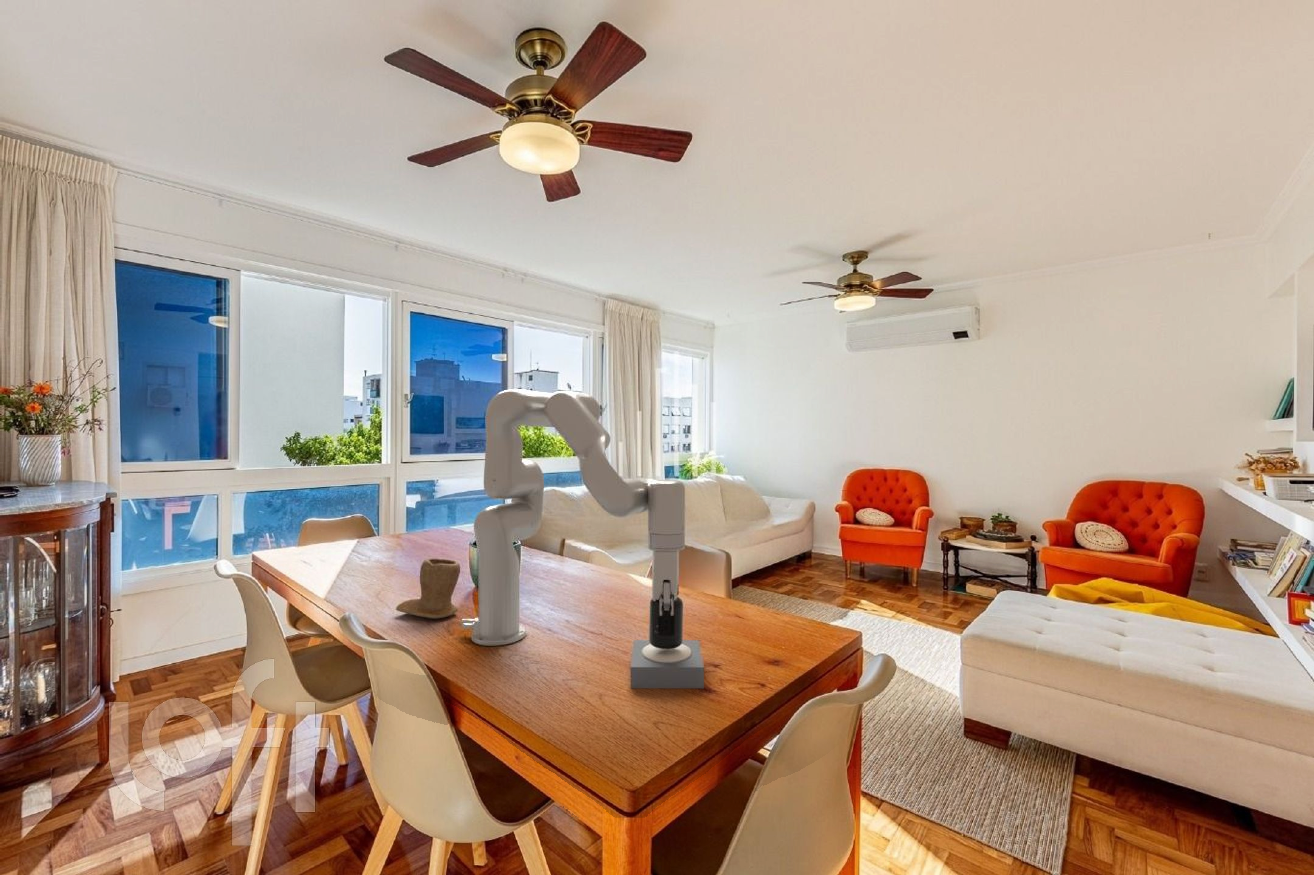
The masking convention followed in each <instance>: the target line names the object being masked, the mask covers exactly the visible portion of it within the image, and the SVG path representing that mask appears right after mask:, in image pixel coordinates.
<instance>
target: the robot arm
mask: <svg viewBox="0 0 1314 875" xmlns="http://www.w3.org/2000/svg"><path fill="white" fill-rule="evenodd" d="M600 417H601V408H600V404H599V403H598V401H597V400H596V399H595V397H593V396H592V395H590V394H588V393H585V392H579V391H572V390H559V391H555V392H544V391H535V390H529V389H520V388H518V389H517V388H512V389H506V390H503V391H500V392H498V393H497V394H495V395H494V396H493V397H492V398H491V400H490V401H489V403H488V405H487V407H486V412H485V418H484V419H485V420H484V423H485V424H484V425H485V438H486V439H485V440H486V442H485V443H486V444H485V454H484V468H483V469H484V470H483V489H484V493H485V494H486V496H487V497H488V498H490V499H493V500H498V501H499V500H500V501H501V500H511V502H509V503H501V504H494V505H490V506H487V507H486V508H484V509H482V510H481V511H479V513H478V514H477V515H476V517H475V519H474V522H473V534H474V538H475V543H476V548H477V549H476V551H477V565H478V567H477V568H478V569H477V570H478V572H477V574H478V580H477V581H478V582H477V583H478V585H477V586H478V588H477V589H478V591H477V592H478V595H477V597H478V599H477V600H478V602H477V604H478V610H477V611H478V613H477V615H478V616H477V617H475V618H474V619H473V618H462V619H461V622H460V626H461V628H462V629H463V630H472V633H471V636H470V637H471V641H472V642H473V643H475V644H476V645H480V646H488V647H489V646H496V647H497V646H504V645H509V644H513V643H516V642H518V641H520V640H522V639H523V638H525V636H526V634H527V628H526V627H525V626H524V625H521V624H520V558H519V555H518V553H517V551H516V548H515V546H514V543H515V542H519V541H523V540H527V539H530V538H532V537H533V536H535V535H536V534H537V533H538V531H539V529H540V526H541V524H542V517H543V504H544V492H545V491H544V489H545V479H544V478H545V477H544V473H543V471H542V469H541V467H540V465H539V464H538V463H537V462H535V461H534V460H532V459H527V458H524V459H523V449H524V444H523V439H522V436H521V432H520V431H519V429H518V427H539V428H540V427H542V428H554V429H555V431H557V433H558V434H559V436H560V437H561V438H562V439H563V440H564V441H565V443H566V444H567V445H568V447H569V448H570V450H571V451H573V453H574V455H575V456H576V457H577V459H578V460H579V461H578V462H579V463H578V466H579V471H580V475H581V479H582V482H583V484H584V486H585V488H586V489H587V490H588V492H589V493H590V494H591V496H592V498H593V499H594V500H595V501H596V502H597V503H598V504H597V505H599V506H600V507H601V508H602V509H603V510H604V511H605V512H606V513H607V514H609V515H610V516H613V517H616V518H623V517H624V518H625V517H629V516H633V515H637V514H641V513H647V549H648V550H650V551H652V568H651V574H652V575H651V579H652V581H651V582H652V585H651V586H652V587H651V588H652V589H651V590H652V591H651V592H652V595H651V596H652V598H651V599H653V600H654V601H656V600H659V597H660V600H659V602H660V615H659V614H658V635H659V636H673V635H674V634H675V615H673V602H674V601H675V600H676V599H677V590H678V586H679V572H680V571H679V570H680V569H679V568H680V567H679V566H680V564H679V563H680V560H679V559H680V551H683V550H685V549H686V547H685V546H686V544H685V543H686V540H685V539H686V538H685V537H686V523H685V522H686V489H685V485H684V483H683V482H682V481H680V480H674V479H658V480H657V479H652V478H646V477H628V478H622V477H621V476H620V474H618V472H617V471H616V470H615V468H614V467H613V466H612V465H611V463H610V462H609V460H608V458H607V456H606V450H607V448H608V447H609V445H610V443H611V435H610V434H609V432H608V431H607V430H606V428H605V427H603V425H602V424H601V423H600V421H599V420H600ZM663 582H664V588H663ZM661 593H662V597H664V599H661ZM670 597H671V599H670ZM673 599H674V600H673ZM662 603H664V604H663V605H662ZM670 603H671V604H670Z"/></svg>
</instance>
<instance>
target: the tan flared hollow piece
mask: <svg viewBox="0 0 1314 875" xmlns="http://www.w3.org/2000/svg"><path fill="white" fill-rule="evenodd" d="M460 574H461V565H460V563H459V562H458V561H456V560H452V559H445V558H434V557H433V558H430V557H429V558H425V559H424V561H423V562H422V563H421V565H420V570H419V585H420V592H421V595H420V598H413V599H409V600H405V601H403V602H400V603H399V604H397V606H395V607H396V608H395V610H396V611H397V612H400V613H404V614H409V615H412V616H417V617H421V618H426V619H427V618H428V619H443V618H447V617H450V616H452V615H453V616H454V614H456V613H457V612H459V607H457V606H456V605H454V604H453V603H452V597H453V594H454V591H455V589H456V587H457V583H458V581H459V578H460Z"/></svg>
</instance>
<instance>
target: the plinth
mask: <svg viewBox="0 0 1314 875" xmlns="http://www.w3.org/2000/svg"><path fill="white" fill-rule="evenodd" d="M630 689H705V665H704V661H703V657H702V653H701V647H700V640H699V639H697V640H694V639H693V640H690V639H688V640H687V639H686V640H685V639H684V640H683V639H682V644H681V645H680V646H679V647H677V648H674V649H660V648H656V647H654V646H652V645H651V644H650V642H649V639H648V640H647V639H645V640H644V639H642V640H640V639H639V640H638V639H634V640H633V643H632V653H631V661H630Z"/></svg>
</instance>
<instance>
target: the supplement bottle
mask: <svg viewBox="0 0 1314 875" xmlns="http://www.w3.org/2000/svg"><path fill="white" fill-rule="evenodd" d="M663 588H664V582H663ZM679 589H680V588H679V585H678V590H677V599H676V600H675V601H674V602H673V615H675V634H674V635H673V636H659V635H658V614H659V615H660V602H659V600H660V597H659V600H656V601H654V600H653V599H652V598H651V600H650V601H649V627H648V630H649V632H648V638H649V639H648V640H649V642H650V644H651V645H652V646H654V647H656V648H660V649H674V648H677V647H679V646H680V645H681V644H682V640H683V634H684V633H683V631H684V629H683V628H684V602H683V600H682V599H681V598H680V597H679V593H680V592H679ZM661 599H664V597H662V593H661ZM670 599H671V597H670ZM673 600H674V599H673ZM663 604H664V603H662V605H663ZM670 604H671V603H670Z"/></svg>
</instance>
